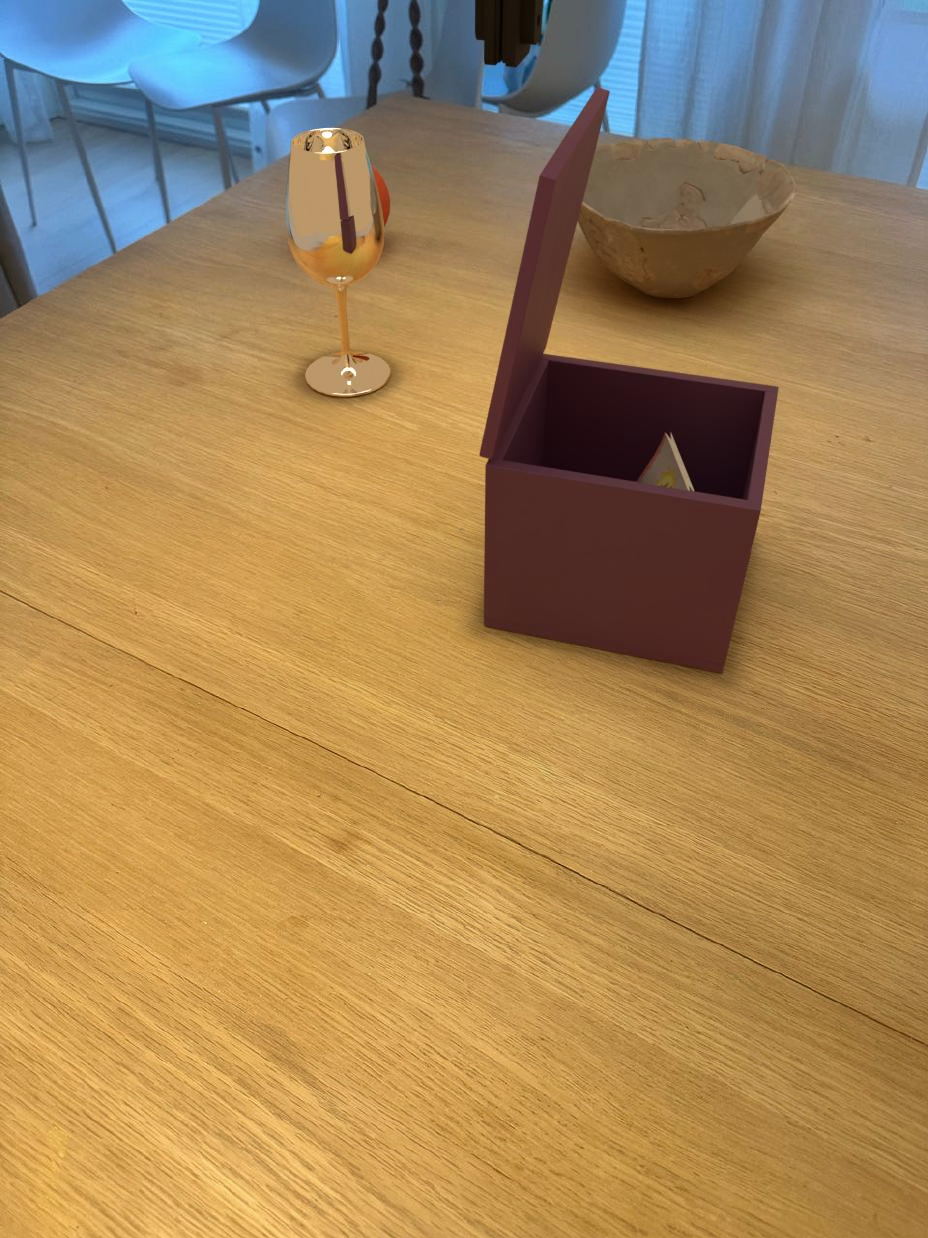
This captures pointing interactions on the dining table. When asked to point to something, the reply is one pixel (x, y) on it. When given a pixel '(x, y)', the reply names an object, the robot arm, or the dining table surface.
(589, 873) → the dining table surface
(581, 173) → the purple box lid
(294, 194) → the wineglass
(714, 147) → the ceramic bowl
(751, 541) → the purple box
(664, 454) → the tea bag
